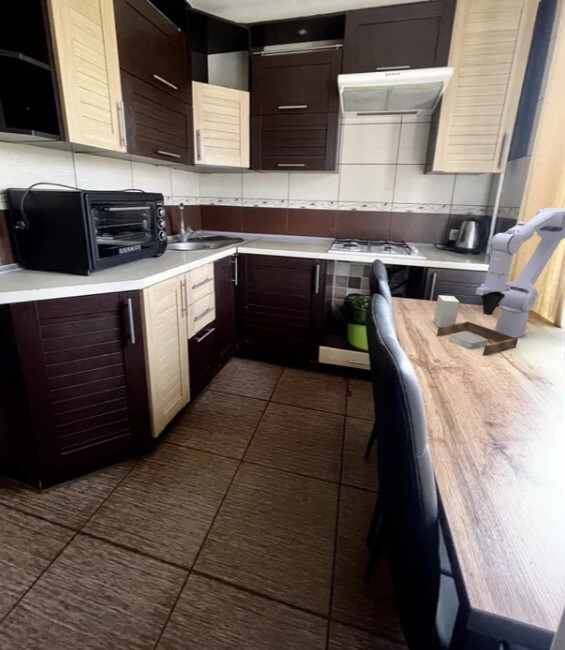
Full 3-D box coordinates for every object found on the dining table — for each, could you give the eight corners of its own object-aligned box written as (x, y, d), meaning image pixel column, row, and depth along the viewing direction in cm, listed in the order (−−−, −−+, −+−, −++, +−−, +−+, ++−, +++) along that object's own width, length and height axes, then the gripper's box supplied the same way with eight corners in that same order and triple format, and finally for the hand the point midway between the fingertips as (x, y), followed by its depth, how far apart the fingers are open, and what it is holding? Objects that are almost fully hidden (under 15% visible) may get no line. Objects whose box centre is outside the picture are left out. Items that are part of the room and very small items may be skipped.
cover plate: (464, 338, 117) (466, 331, 117) (486, 347, 111) (488, 339, 110) (448, 341, 114) (449, 334, 113) (470, 350, 107) (471, 343, 106)
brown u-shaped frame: (466, 329, 124) (467, 321, 123) (515, 347, 110) (518, 338, 109) (436, 335, 118) (438, 327, 117) (485, 355, 103) (487, 346, 102)
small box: (454, 329, 124) (460, 301, 120) (437, 328, 125) (443, 300, 121) (448, 322, 131) (454, 295, 127) (433, 321, 132) (438, 294, 128)
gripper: (499, 269, 114) (489, 308, 119) (471, 272, 108) (461, 313, 112) (521, 273, 108) (510, 314, 113) (492, 276, 102) (482, 319, 106)
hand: (487, 314), depth 112 cm, fingers closed
